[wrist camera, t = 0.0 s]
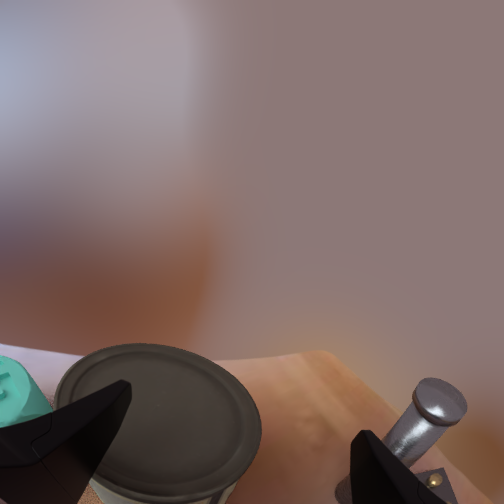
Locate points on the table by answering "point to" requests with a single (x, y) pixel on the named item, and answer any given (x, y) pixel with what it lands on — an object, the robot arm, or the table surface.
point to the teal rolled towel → (19, 394)
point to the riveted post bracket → (438, 484)
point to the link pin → (418, 425)
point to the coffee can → (168, 425)
